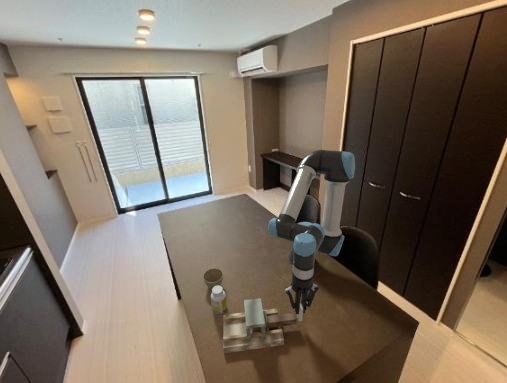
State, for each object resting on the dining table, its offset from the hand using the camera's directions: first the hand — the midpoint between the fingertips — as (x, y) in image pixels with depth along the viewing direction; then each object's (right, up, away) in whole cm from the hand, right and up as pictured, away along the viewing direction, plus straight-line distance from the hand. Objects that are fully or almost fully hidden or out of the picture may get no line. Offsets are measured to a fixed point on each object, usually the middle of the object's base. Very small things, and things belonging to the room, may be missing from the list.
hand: (299, 318), depth 93 cm
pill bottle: (-34, -2, +11) cm, 36 cm away
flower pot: (-39, +3, +23) cm, 45 cm away
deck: (-19, -5, 0) cm, 20 cm away
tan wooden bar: (-11, -2, 0) cm, 11 cm away
